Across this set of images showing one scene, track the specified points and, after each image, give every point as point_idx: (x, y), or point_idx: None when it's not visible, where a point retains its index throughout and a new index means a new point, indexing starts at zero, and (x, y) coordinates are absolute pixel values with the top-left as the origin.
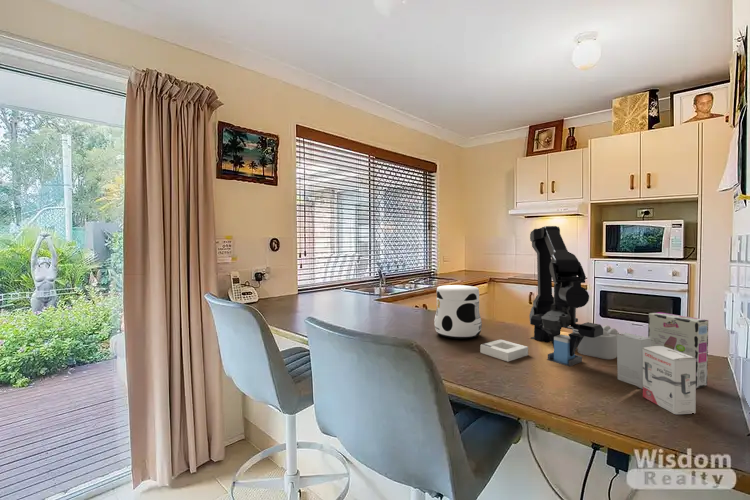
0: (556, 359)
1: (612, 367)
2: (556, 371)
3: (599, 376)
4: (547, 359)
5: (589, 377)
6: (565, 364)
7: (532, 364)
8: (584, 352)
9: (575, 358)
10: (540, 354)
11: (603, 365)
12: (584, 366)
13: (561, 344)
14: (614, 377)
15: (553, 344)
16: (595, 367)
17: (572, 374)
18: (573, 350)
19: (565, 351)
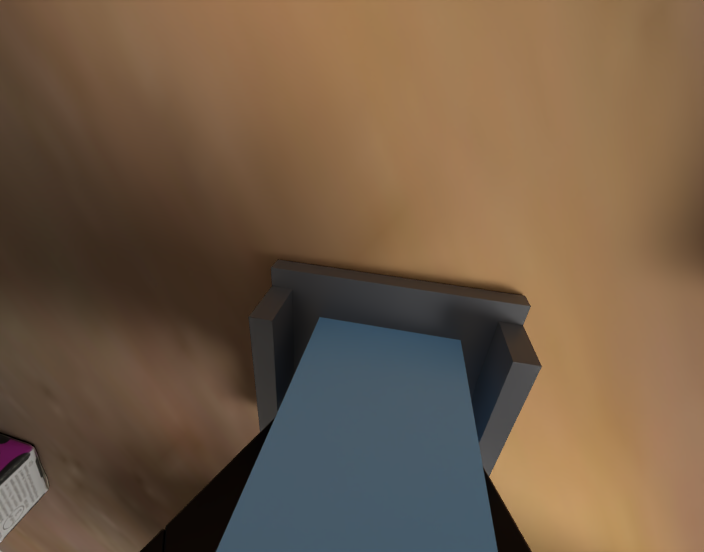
0: (430, 344)
1: (151, 439)
2: (308, 40)
3: (55, 241)
4: (522, 316)
5: (55, 153)
6: (323, 293)
7: (681, 36)
8: None
9: (263, 400)
10: (630, 434)
11: (194, 444)
12: (239, 371)
13: (342, 538)
14: (18, 293)
15: (514, 546)
16: (192, 392)
17: (163, 101)
18: (232, 472)
19: (301, 422)
